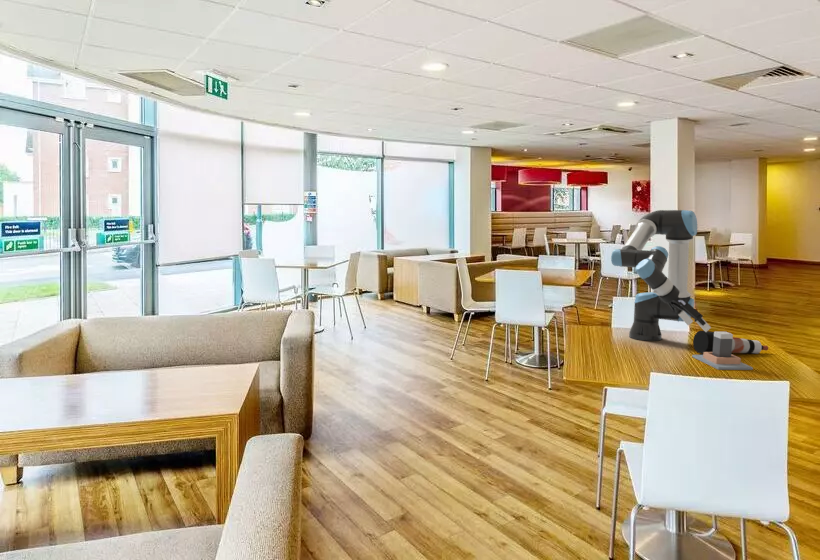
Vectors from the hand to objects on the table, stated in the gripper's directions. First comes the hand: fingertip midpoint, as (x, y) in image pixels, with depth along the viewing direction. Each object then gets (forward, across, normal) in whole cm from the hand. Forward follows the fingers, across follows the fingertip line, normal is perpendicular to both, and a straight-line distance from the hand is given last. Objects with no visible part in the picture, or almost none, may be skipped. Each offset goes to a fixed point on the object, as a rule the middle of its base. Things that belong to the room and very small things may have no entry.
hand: (699, 326), depth 230 cm
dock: (+18, 0, -4) cm, 19 cm away
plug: (+18, 0, -3) cm, 18 cm away
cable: (+29, -16, +7) cm, 34 cm away
